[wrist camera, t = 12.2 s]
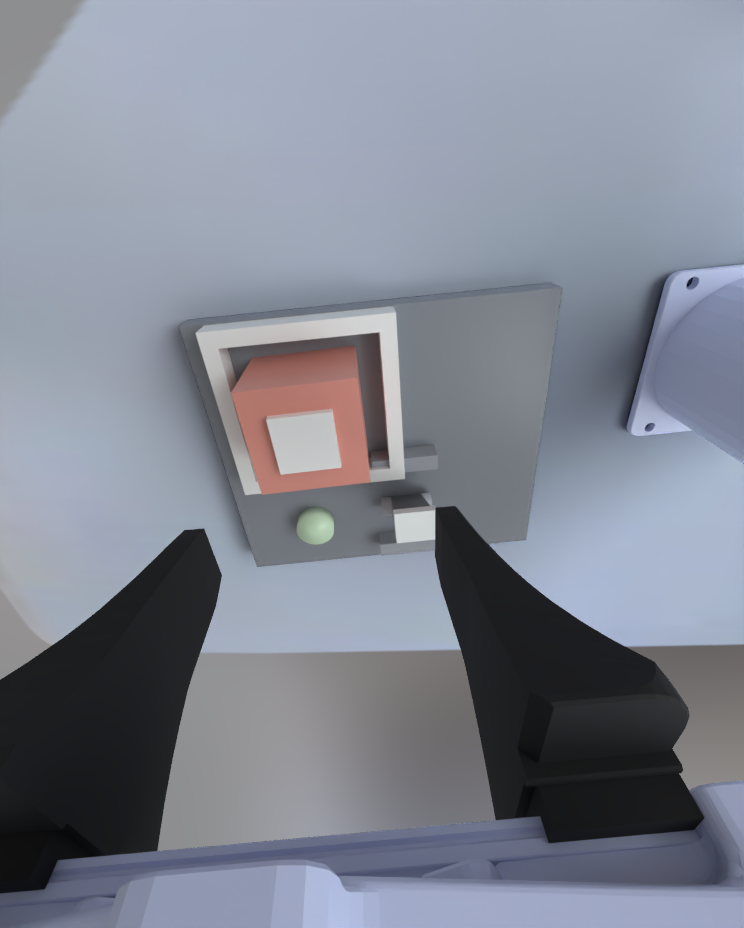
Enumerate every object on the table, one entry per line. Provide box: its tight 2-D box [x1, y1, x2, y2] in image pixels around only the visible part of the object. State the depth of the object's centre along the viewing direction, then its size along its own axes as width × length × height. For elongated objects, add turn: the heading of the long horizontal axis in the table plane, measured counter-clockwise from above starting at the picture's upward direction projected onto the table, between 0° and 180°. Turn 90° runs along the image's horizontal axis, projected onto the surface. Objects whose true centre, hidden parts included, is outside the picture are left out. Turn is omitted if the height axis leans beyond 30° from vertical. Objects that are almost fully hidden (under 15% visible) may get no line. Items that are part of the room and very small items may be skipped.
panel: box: [179, 283, 562, 567], centre depth 21 cm, size 16×14×2 cm
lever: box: [381, 493, 436, 543], centre depth 20 cm, size 3×1×6 cm, turn 95°
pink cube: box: [231, 345, 370, 495], centre depth 18 cm, size 4×4×4 cm
